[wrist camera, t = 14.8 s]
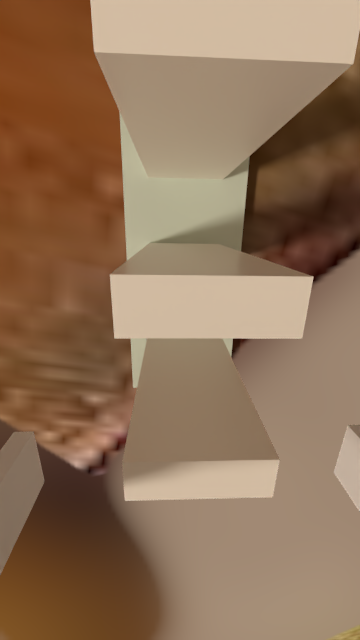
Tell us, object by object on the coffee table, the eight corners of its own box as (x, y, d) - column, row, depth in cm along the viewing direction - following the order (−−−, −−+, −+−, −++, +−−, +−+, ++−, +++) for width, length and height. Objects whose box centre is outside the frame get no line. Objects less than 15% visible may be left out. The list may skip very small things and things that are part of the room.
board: (134, 382, 28) (133, 387, 27) (107, -196, 15) (103, -225, 14) (226, 381, 29) (228, 387, 28) (276, -182, 16) (283, -209, 15)
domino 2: (217, 267, 24) (302, 338, 9) (149, 266, 23) (114, 338, 8) (218, 243, 23) (313, 276, 8) (149, 242, 23) (110, 274, 8)
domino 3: (150, 320, 25) (122, 462, 10) (213, 320, 25) (279, 459, 10) (151, 339, 26) (124, 500, 11) (212, 339, 26) (272, 497, 11)
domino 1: (222, 179, 21) (353, 63, 6) (148, 177, 21) (93, 51, 6) (224, 150, 21) (376, -58, 6) (147, 148, 20) (84, -76, 5)
